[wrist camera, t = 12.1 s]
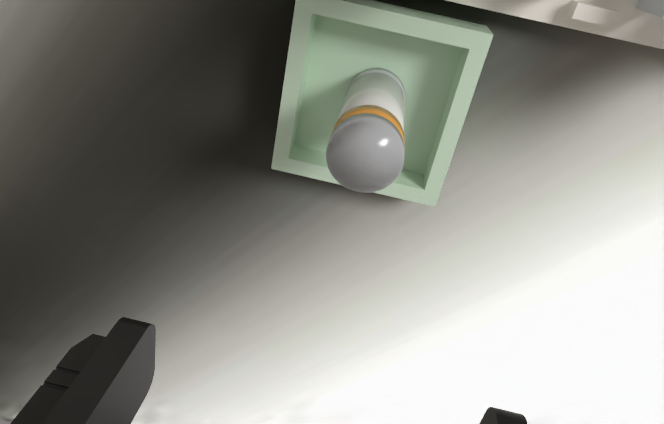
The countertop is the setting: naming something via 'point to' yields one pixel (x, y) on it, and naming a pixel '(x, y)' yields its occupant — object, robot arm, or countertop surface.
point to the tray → (389, 53)
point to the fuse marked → (369, 133)
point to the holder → (590, 16)
